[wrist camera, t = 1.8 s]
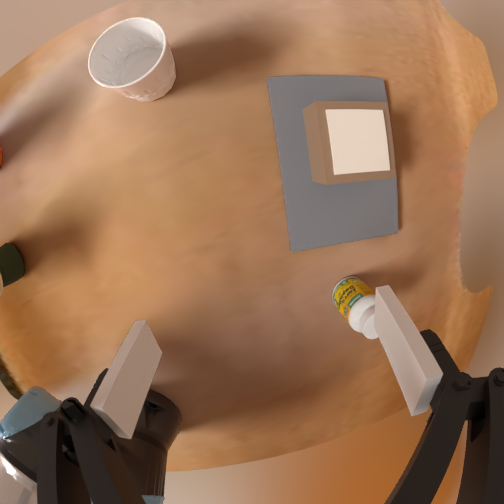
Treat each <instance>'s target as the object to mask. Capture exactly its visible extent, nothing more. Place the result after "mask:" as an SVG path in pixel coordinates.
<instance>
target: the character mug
mask: <svg viewBox="0 0 504 504" xmlns="http://www.w3.org/2000/svg"><path fill="white" fill-rule="evenodd" d="M23 273H24V263H23V261H22V258H21V255H20V254H19V252H18V251H17V249H16V248H15V247H14V246H13V245H12V244H11V243H5V244H4V245H3V246H1V247H0V296H1V294H2V293H3V287H5V286H8V285H10V284H12V283H14V282H15V281H17V280H19V279H20V278H21V277H22V276H23Z"/></svg>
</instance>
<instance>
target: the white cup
mask: <svg viewBox="0 0 504 504" xmlns="http://www.w3.org/2000/svg"><path fill="white" fill-rule="evenodd" d="M88 68H89V72H90V75H91V76H92V78H93V79H94V80H95V81H96V82H97V83H98V84H100V85H102V86H104V87H106V88H108V89H111V90H113V91H115V92H117V93H119V94H121V95H123V96H126V97H129V98H133V99H135V100H137V101H140V102H150V101H154V100H156V99H158V98H161V97H163V96H164V95H165V94H166V93H167V92H168V91H169V90H170V89H171V88H172V87H173V84H174V81H175V79H176V67H175V63H174V59H173V55H172V51H171V49H170V46H169V43H168V40H167V37H166V34H165V31H164V29H163V28H162V27H161V25H160V24H158V23H157V22H156V21H154V20H152V19H149V18H143V17H135V18H129V19H125V20H122V21H120V22H118V23H116V24H114V25H112V26H111V27H109V28H108V29H107V30H105V31H104V32H103V33H102V34H101V35H100V36H99V38H98V39H97V40H96V42H95V43H94V45H93V47H92V49H91V51H90V54H89V59H88Z"/></svg>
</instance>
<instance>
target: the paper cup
mask: <svg viewBox="0 0 504 504" xmlns="http://www.w3.org/2000/svg"><path fill="white" fill-rule="evenodd" d="M1 163H2V149H1V146H0V167H1Z"/></svg>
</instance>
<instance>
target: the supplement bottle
mask: <svg viewBox="0 0 504 504" xmlns="http://www.w3.org/2000/svg"><path fill="white" fill-rule="evenodd" d="M375 296H376V293H375V292H374V291H373V290H372V289H371V288H369V287H368V286H367V285H366V284H365V283H364V282H363V281H362V280H361V279H359V278H357V277H353V276H351V277H346V278H344V279H342V280H341V281H339V282H338V283H337V285H336V286H335V288H334V290H333V293H332V298H333V303H334V305H335V306H336V307H337V309H338V310H339V311H340V313H341V314H342V315H343V317H344V318H345V319H346V321H347V322H348V323H349V325H350V326H351V327H352V328H353V329H354V330H355V331H357V332H361V333H363V334H364V335H365V336H366V337H367V338H369V339H375V338H378V335H377V332H376V330H375V328H374V314H375Z"/></svg>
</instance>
